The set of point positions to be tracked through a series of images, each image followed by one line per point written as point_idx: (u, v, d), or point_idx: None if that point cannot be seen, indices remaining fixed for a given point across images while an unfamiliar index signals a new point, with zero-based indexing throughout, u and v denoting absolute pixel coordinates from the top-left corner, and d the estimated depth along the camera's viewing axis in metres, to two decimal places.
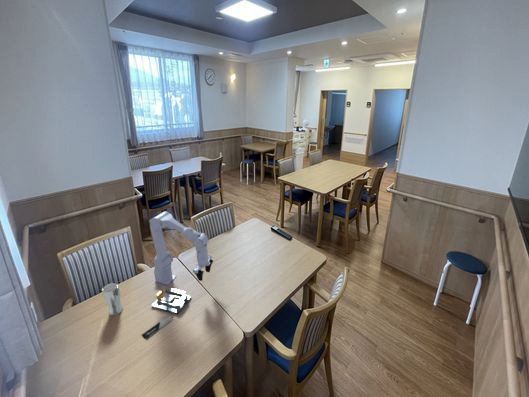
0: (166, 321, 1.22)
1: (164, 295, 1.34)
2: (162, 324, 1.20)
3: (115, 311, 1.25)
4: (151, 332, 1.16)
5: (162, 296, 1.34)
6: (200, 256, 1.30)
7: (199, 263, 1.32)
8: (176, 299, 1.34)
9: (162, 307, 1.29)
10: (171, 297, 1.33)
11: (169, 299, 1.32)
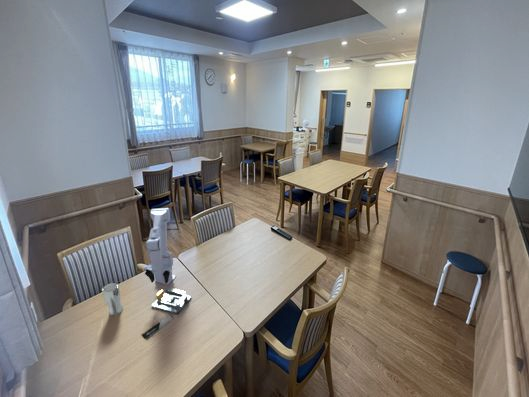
0: (166, 321, 1.21)
1: (164, 295, 1.34)
2: (162, 324, 1.20)
3: (115, 311, 1.25)
4: (151, 332, 1.16)
5: (162, 296, 1.34)
6: (150, 259, 1.27)
7: None
8: (176, 299, 1.34)
9: (162, 307, 1.29)
10: (171, 297, 1.33)
11: (169, 299, 1.32)
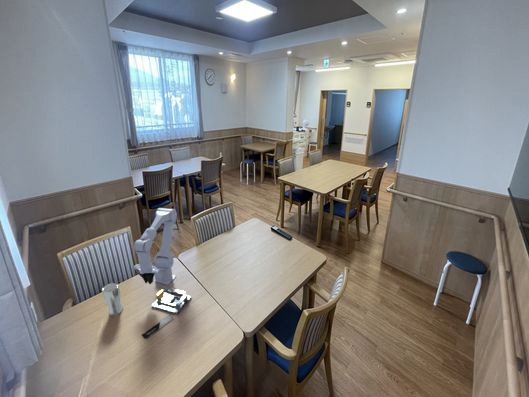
0: (166, 321, 1.22)
1: (164, 295, 1.34)
2: (162, 324, 1.20)
3: (115, 311, 1.25)
4: (151, 332, 1.16)
5: (162, 296, 1.34)
6: None
7: None
8: (176, 299, 1.34)
9: (162, 307, 1.29)
10: (171, 297, 1.33)
11: (169, 299, 1.32)
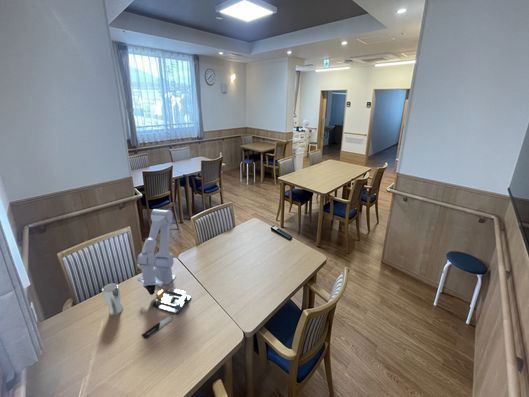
0: (166, 321, 1.21)
1: (164, 295, 1.34)
2: (162, 324, 1.20)
3: (115, 311, 1.25)
4: (151, 332, 1.16)
5: (162, 296, 1.34)
6: None
7: None
8: (176, 299, 1.34)
9: (162, 307, 1.29)
10: (171, 297, 1.33)
11: (169, 299, 1.32)
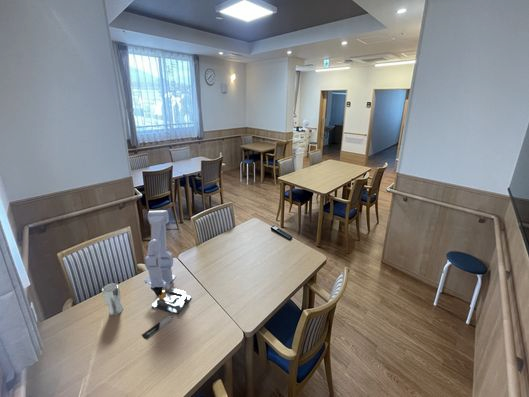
0: (166, 321, 1.21)
1: (166, 296, 1.34)
2: (162, 324, 1.20)
3: (115, 311, 1.25)
4: (151, 332, 1.16)
5: (164, 297, 1.33)
6: (149, 274, 1.28)
7: None
8: (176, 299, 1.34)
9: (162, 307, 1.29)
10: (173, 298, 1.33)
11: (171, 300, 1.31)
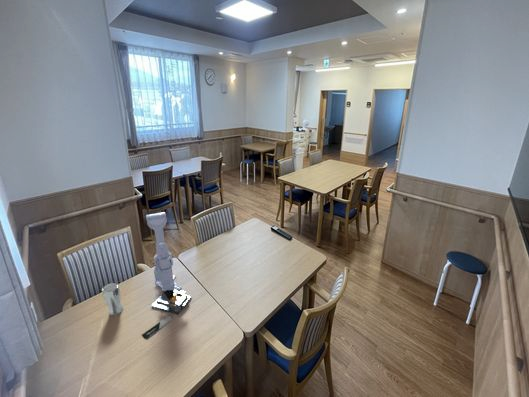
0: (166, 321, 1.21)
1: (177, 299, 1.32)
2: (162, 324, 1.20)
3: (115, 311, 1.25)
4: (151, 332, 1.16)
5: (175, 300, 1.31)
6: (161, 278, 1.25)
7: None
8: None
9: (162, 307, 1.29)
10: (185, 301, 1.31)
11: (183, 303, 1.30)
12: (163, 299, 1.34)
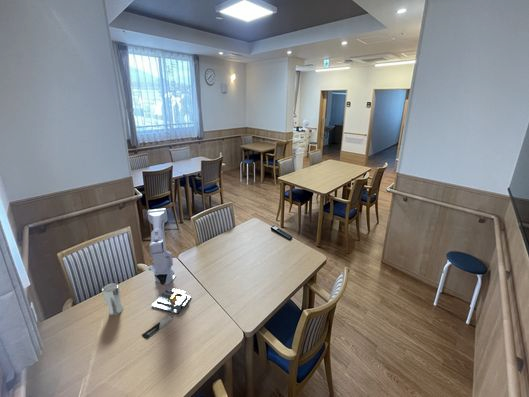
0: (166, 321, 1.21)
1: (177, 299, 1.32)
2: (162, 324, 1.20)
3: (115, 311, 1.25)
4: (151, 332, 1.16)
5: (175, 300, 1.31)
6: (153, 261, 1.25)
7: None
8: None
9: (162, 307, 1.29)
10: (185, 301, 1.31)
11: (183, 303, 1.30)
12: (163, 299, 1.34)
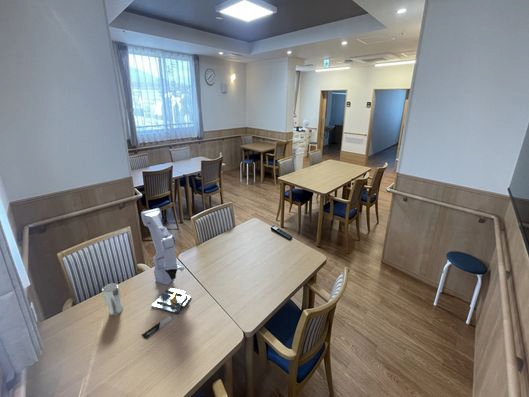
0: (166, 321, 1.21)
1: (177, 299, 1.32)
2: (162, 324, 1.20)
3: (115, 311, 1.25)
4: (151, 332, 1.16)
5: (175, 300, 1.31)
6: (164, 257, 1.28)
7: None
8: None
9: (162, 307, 1.29)
10: (185, 301, 1.31)
11: (183, 303, 1.30)
12: (163, 299, 1.34)
